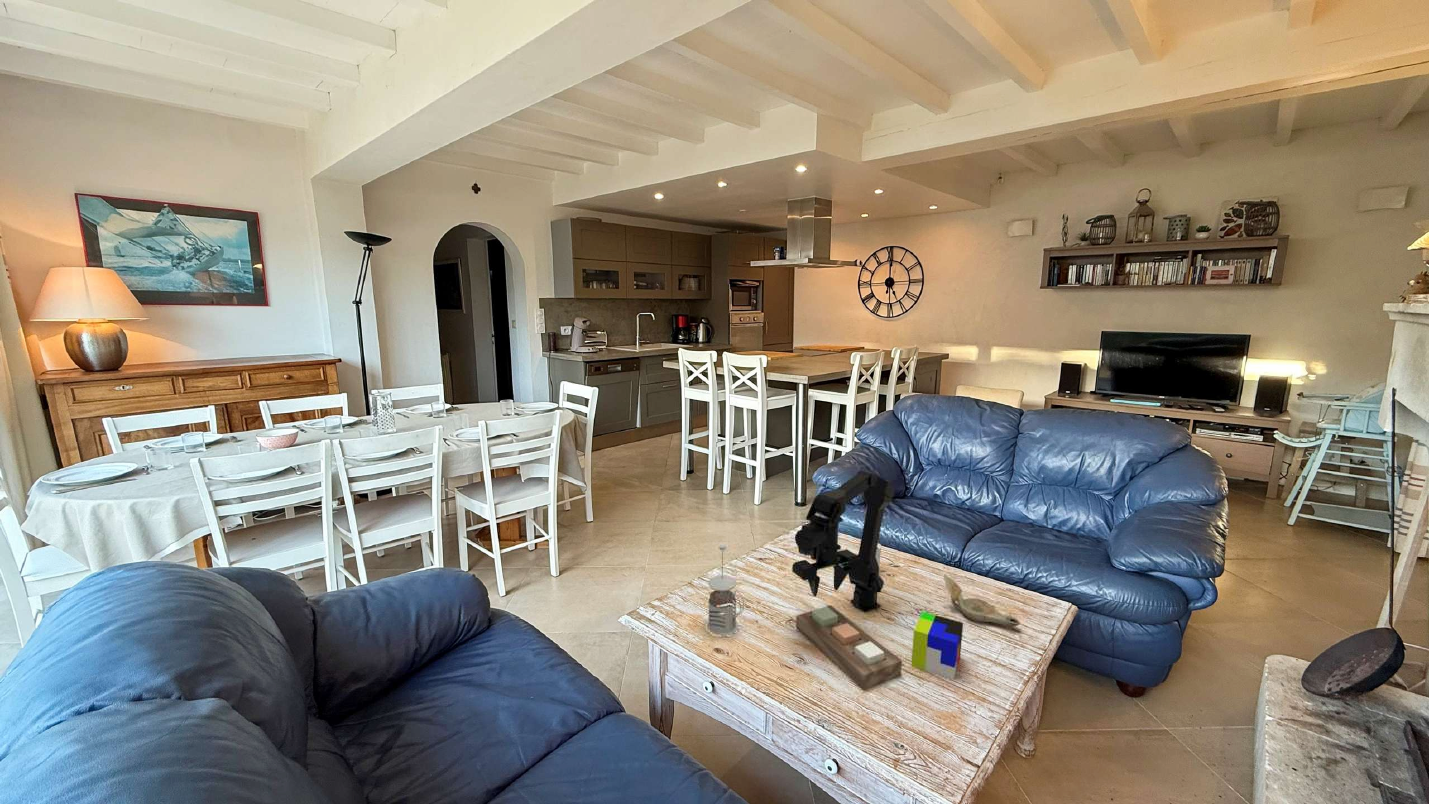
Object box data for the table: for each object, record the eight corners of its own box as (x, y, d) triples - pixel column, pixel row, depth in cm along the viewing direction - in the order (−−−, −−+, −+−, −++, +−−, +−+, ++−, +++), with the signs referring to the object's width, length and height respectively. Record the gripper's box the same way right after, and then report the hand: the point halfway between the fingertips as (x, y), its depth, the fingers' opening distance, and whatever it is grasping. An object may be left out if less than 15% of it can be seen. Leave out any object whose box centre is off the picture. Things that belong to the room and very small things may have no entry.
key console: (830, 617, 162) (830, 605, 161) (900, 675, 137) (901, 660, 136) (796, 628, 157) (796, 615, 156) (863, 690, 132) (863, 675, 131)
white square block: (869, 651, 142) (870, 641, 141) (883, 663, 137) (884, 652, 137) (854, 657, 140) (854, 646, 139) (867, 669, 135) (868, 658, 135)
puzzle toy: (953, 680, 136) (956, 643, 134) (911, 666, 141) (913, 630, 139) (960, 657, 144) (963, 622, 142) (920, 645, 149) (922, 611, 147)
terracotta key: (846, 633, 150) (847, 623, 149) (859, 643, 145) (859, 632, 145) (831, 638, 148) (832, 627, 147) (844, 648, 143) (844, 638, 143)
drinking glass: (880, 578, 185) (882, 550, 183) (860, 576, 186) (861, 548, 184) (878, 569, 191) (880, 541, 189) (858, 567, 192) (860, 540, 191)
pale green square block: (826, 616, 158) (826, 606, 157) (837, 625, 153) (837, 615, 153) (811, 620, 155) (812, 611, 155) (822, 630, 151) (823, 620, 151)
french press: (718, 613, 164) (718, 534, 160) (751, 626, 157) (752, 544, 153) (698, 629, 156) (697, 546, 152) (732, 644, 150) (733, 557, 145)
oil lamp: (946, 599, 172) (949, 569, 170) (1022, 626, 158) (1026, 593, 156) (936, 610, 166) (938, 579, 164) (1014, 639, 152) (1017, 606, 150)
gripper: (836, 522, 161) (834, 572, 164) (781, 535, 153) (780, 587, 156) (861, 537, 151) (859, 590, 154) (805, 551, 143) (803, 606, 146)
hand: (825, 592), depth 153 cm, fingers open, 7 cm apart
